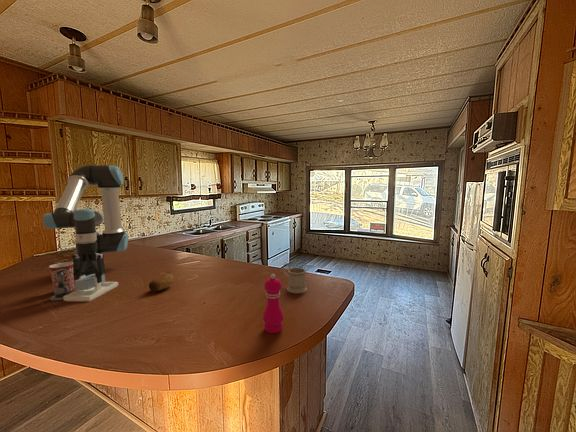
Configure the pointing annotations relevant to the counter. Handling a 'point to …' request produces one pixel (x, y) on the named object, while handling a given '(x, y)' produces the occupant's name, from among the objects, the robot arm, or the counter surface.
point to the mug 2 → (296, 279)
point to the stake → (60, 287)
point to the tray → (90, 292)
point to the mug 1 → (67, 274)
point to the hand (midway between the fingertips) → (91, 289)
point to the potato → (161, 281)
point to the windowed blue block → (86, 282)
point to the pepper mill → (273, 306)
